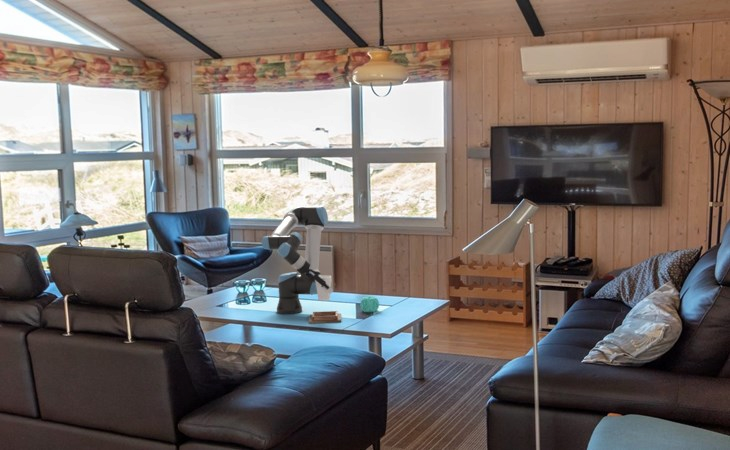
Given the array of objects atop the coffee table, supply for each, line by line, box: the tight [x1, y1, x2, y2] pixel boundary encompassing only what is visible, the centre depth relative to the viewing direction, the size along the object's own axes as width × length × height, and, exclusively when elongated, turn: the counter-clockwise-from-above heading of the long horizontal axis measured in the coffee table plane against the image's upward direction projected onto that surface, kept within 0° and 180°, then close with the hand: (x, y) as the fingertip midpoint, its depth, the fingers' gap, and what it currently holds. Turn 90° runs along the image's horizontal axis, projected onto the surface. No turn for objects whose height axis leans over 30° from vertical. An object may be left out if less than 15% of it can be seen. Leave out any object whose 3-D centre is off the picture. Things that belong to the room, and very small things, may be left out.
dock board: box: [308, 310, 342, 325], centre depth 422 cm, size 18×18×3 cm
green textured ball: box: [360, 296, 380, 313], centre depth 442 cm, size 8×8×8 cm
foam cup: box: [315, 275, 333, 302], centre depth 421 cm, size 10×9×13 cm
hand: (329, 290), depth 422 cm, fingers closed on foam cup, 9 cm apart
